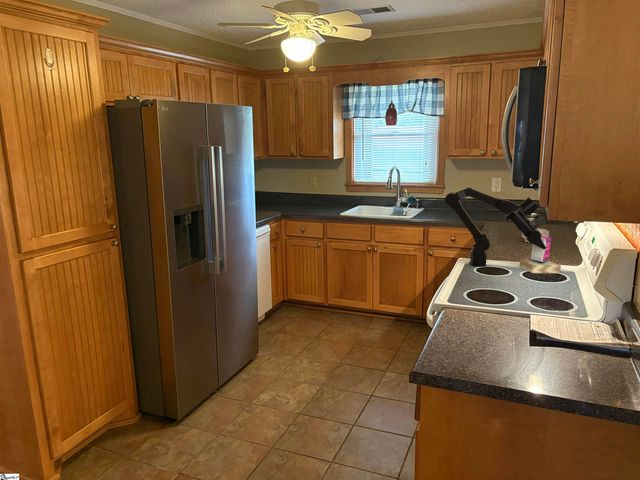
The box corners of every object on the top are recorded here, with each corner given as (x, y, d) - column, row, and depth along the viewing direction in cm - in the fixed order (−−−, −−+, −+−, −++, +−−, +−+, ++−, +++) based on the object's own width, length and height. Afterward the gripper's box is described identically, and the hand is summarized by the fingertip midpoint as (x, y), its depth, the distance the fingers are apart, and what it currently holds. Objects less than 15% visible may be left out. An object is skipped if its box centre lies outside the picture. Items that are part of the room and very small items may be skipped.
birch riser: (531, 273, 219) (532, 265, 219) (519, 266, 232) (520, 258, 231) (560, 273, 220) (560, 265, 219) (546, 266, 233) (546, 258, 232)
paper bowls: (550, 245, 284) (551, 232, 283) (522, 244, 289) (523, 230, 287) (545, 241, 299) (547, 228, 297) (519, 239, 303) (520, 227, 301)
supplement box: (541, 262, 221) (544, 238, 219) (530, 260, 226) (532, 236, 224) (549, 261, 224) (551, 237, 222) (537, 258, 229) (539, 235, 227)
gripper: (538, 213, 213) (562, 239, 212) (533, 208, 231) (555, 232, 230) (517, 229, 217) (541, 255, 216) (513, 223, 234) (536, 247, 233)
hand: (544, 247), depth 224 cm, fingers closed on supplement box, 8 cm apart
